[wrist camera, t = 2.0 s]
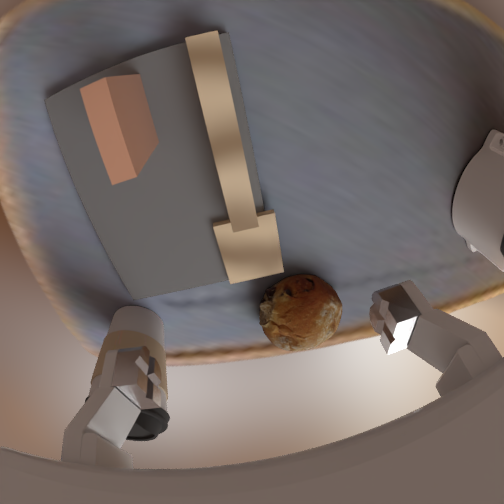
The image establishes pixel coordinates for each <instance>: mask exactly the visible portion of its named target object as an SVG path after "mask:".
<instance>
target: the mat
mask: <svg viewBox="0 0 504 504" xmlns="http://www.w3.org/2000/svg"><path fill="white" fill-rule="evenodd" d="M218 35H219V39H220V44H221V48H222V53H223V57H224V62H225V66H226V71H227V76H228V80H229V85H230V89H231V94H232V99H233V103H234V108H235V113H236V117H237V122H238V127H239V132H240V136H241V141H242V146H243V151H244V156H245V161H246V165H247V170H248V175H249V180H250V185H251V190H252V195H253V200H254V205H255V210H256V213H259V212H263V211H264V205H263V200H262V195H261V189H260V184H259V179H258V173H257V168H256V163H255V158H254V152H253V147H252V142H251V137H250V132H249V127H248V122H247V117H246V112H245V107H244V102H243V97H242V92H241V88H240V83H239V78H238V73H237V68H236V64H235V59H234V54H233V50H232V45H231V41H230V36H229V32H228V33H223V34H218ZM133 74H140V76H141V80H142V84H143V87H144V91H145V95H146V98H147V102H148V106H149V109H150V113H151V116H152V120H153V123H154V127H155V130H156V133H157V137H158V140H159V143H158V145H157V146H156V148H155V149H154V151H153V152H152V154H151V155H150V157H149V158H148V160H147V162H146V163H145V165H144V166H143V168H142V170H141V171H140V173H139V174H138V176H137V177H135V178H132V179H129V180H126V181H123V182H120V183H117V184H114V185H112V183H111V181H110V178H109V175H108V173H107V170H106V168H105V165H104V162H103V159H102V157H101V154H100V151H99V148H98V145H97V143H96V140H95V137H94V134H93V131H92V128H91V125H90V122H89V118H88V115H87V112H86V109H85V105H84V102H83V99H82V95H81V92H80V89H81V88H83V87H85V86H87V85H89V84H91V83H93V82H96V81H98V80H100V79H102V78H105V77H111V76H121V75H133ZM45 104H46V107H47V111H48V114H49V117H50V120H51V123H52V126H53V129H54V132H55V135H56V138H57V141H58V144H59V147H60V149H61V152H62V155H63V157H64V160H65V163H66V165H67V168H68V170H69V173H70V175H71V178H72V180H73V182H74V185H75V187H76V190H77V192H78V194H79V196H80V199H81V201H82V203H83V205H84V208H85V210H86V212H87V214H88V216H89V218H90V220H91V222H92V225H93V227H94V229H95V231H96V233H97V235H98V237H99V239H100V241H101V243H102V245H103V246H104V248H105V250H106V252H107V254H108V256H109V258H110V260H111V262H112V263H113V265H114V267H115V269H116V271H117V272H118V274H119V276H120V278H121V280H122V281H123V283H124V285H125V286H126V288H127V290H128V292H129V293H130V295H131V297H132V298H133V300H137V299H142V298H147V297H152V296H157V295H162V294H166V293H171V292H176V291H181V290H185V289H190V288H195V287H199V286H204V285H208V284H213V283H217V282H222V281H226V280H229V278H228V275H227V271H226V268H225V265H224V262H223V258H222V255H221V252H220V249H219V245H218V242H217V239H216V235H215V232H214V229H213V223H216V222H220V221H224V220H228V219H230V218H229V215H228V211H227V207H226V203H225V199H224V195H223V191H222V187H221V183H220V179H219V175H218V171H217V167H216V163H215V159H214V155H213V151H212V147H211V143H210V139H209V135H208V131H207V127H206V123H205V119H204V115H203V111H202V107H201V103H200V99H199V94H198V90H197V86H196V82H195V78H194V74H193V69H192V65H191V61H190V57H189V52H188V48H187V44H186V42H183V43H180V44H176V45H172V46H169V47H166V48H162V49H159V50H156V51H153V52H150V53H147V54H144V55H141V56H138V57H135V58H133V59H130V60H127V61H125V62H122V63H119V64H117V65H114V66H112V67H110V68H107V69H105V70H103V71H100V72H98V73H96V74H94V75H91V76H89V77H87V78H85V79H83V80H81V81H79V82H77V83H75V84H73V85H71V86H69V87H67V88H65V89H63V90H61V91H59V92H58V93H56V94H54V95H52V96H50V97H49V98H47V99H45Z"/></svg>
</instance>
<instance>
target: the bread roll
mask: <svg viewBox="0 0 504 504" xmlns="http://www.w3.org/2000/svg"><path fill="white" fill-rule="evenodd" d="M259 307H260V309H261V310H260V317H259V318H260V323H259V324H260V325H261V326H262V328H263V331H264V333H265V335H266V336H267V337H268V338H269V340H270V341H271V342H272V343H273V344H274V345H275V346H277V347H279V348H281V349H283V350H287V351H301V350H306V349H310V348H314V347H316V346H318V345H320V344H322V343H323V342H325V341H326V340H327V339H328V338H330V337H331V336H332V335H333V334H334V333H335V331H336V330H337V328H338V325H339V323H340V319H341V315H342V303H341V301H340V299H339V297H338V295H337V293H336V291H335V290H334V289H333V288H332V287H331V286H330V285H328V283H326V282H325V281H324V280H322V279H320V278H319V277H317V276H315V275H304V274H299V275H293V276H290V277H286V278H284V279H283V280H281V281H280V282H278V283H277V284H275V285H273V286H272V287H271V288H270V289H269V288H268V289H266V293H265V295H264V298H263V300H261V302H260V306H259Z"/></svg>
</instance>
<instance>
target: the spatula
mask: <svg viewBox="0 0 504 504" xmlns="http://www.w3.org/2000/svg"><path fill="white" fill-rule="evenodd" d="M185 39H186V44H187V48H188V52H189V57H190V61H191V65H192V69H193V74H194V78H195V82H196V86H197V90H198V94H199V99H200V103H201V107H202V111H203V115H204V119H205V123H206V127H207V131H208V135H209V139H210V143H211V147H212V151H213V155H214V159H215V163H216V167H217V171H218V175H219V179H220V183H221V187H222V191H223V195H224V199H225V203H226V207H227V211H228V215H229V218H230V219H228V220H224V221H220V222H216V223H213V229H214V232H215V235H216V239H217V242H218V245H219V249H220V252H221V255H222V258H223V262H224V265H225V268H226V271H227V275H228V278H229V281H230V284H233V283H238V282H242V281H247V280H251V279H256V278H260V277H264V276H269V275H273V274H277V273H281V272H284V270H283V263H282V256H281V250H280V243H279V237H278V230H277V224H276V218H275V212H274V210H273V209H272V210H268V211H263V212H259V213H256V210H255V205H254V200H253V195H252V190H251V185H250V180H249V175H248V170H247V165H246V161H245V156H244V151H243V146H242V141H241V136H240V132H239V127H238V122H237V117H236V113H235V108H234V103H233V99H232V94H231V89H230V85H229V80H228V76H227V71H226V66H225V62H224V57H223V53H222V48H221V44H220V39H219V35H218V30H217V31H212V32H207V33H203V34H198V35H194V36H190V37H186V38H185Z"/></svg>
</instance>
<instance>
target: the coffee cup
mask: <svg viewBox="0 0 504 504" xmlns="http://www.w3.org/2000/svg"><path fill="white" fill-rule="evenodd" d="M141 346H146V347H147V349H148V350H149V351H150V355H149V356H151V357H153V358H155V359H156V360H157V362H158V364H159V366H160V369H161V374H162V379H161V383H160V384H159V386H158V389H159V390H160V391H161V408H152V409H142V410H141V412H140V414H139V415H138V417H137V419H136V421H135V423H134V425H133V426H132V428H131V430H130V432H129V434H128V436H127V437H126V440H133V441H149V440H153V439H155V438H156V437H157V436H158V434H160V433H162V432H164V431H165V430H166V429H167V427H168V424H167V423H168V421H169V419H170V417H169V414H168V413H167V399H168V393H167V376H166V355H165V350H164V324H163V321H162V320H161V318H160V317H159V316H158V315H157V314H156V313H154V312H153V311H151V310H149V309H147V308H144V307H140V306H125V307H122V308H120V309H118V310H117V311H116V312H115V314H114V316H113V319H112V322H111V325H110V328H109V330H108V333H107V336H106V337H105V339H104V342H103V345H102V348H101V351H100V354H99V357H98V360H97V363H96V366H95V369H94V373H93V376H92V380H91V389H90V392H89V396H88V397H87V398H86V400H85V402H86V401H87V400H88V398H89V397H90V396H91V395H92V393H93V392H94V391H95V389H96V388H100V382H101V376H102V371H103V365H104V360H105V355H106V353H107V352H108V350H116V349H124V348H133V347H141Z"/></svg>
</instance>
